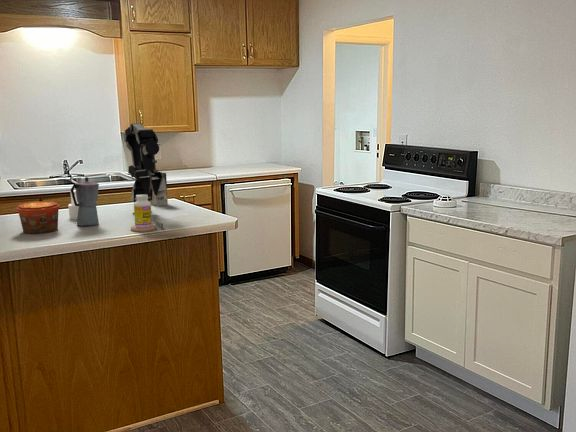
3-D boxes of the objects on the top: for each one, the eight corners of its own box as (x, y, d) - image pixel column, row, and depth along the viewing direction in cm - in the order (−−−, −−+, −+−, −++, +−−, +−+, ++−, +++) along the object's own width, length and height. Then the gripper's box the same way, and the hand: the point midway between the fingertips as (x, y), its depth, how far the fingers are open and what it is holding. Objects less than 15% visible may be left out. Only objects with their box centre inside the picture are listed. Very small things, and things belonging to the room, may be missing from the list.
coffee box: (168, 204, 284) (166, 172, 281) (157, 206, 280) (155, 174, 276) (159, 202, 290) (157, 171, 287) (147, 203, 286) (146, 172, 283)
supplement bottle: (142, 229, 224) (141, 197, 221) (131, 227, 227) (129, 195, 225) (155, 225, 229) (153, 194, 227) (144, 224, 233) (142, 193, 230)
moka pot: (108, 221, 243) (105, 175, 239) (85, 229, 229) (81, 180, 225) (90, 220, 246) (86, 175, 242) (65, 227, 232) (61, 179, 228)
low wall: (155, 225, 235) (155, 219, 235) (157, 225, 236) (157, 219, 235) (161, 229, 227) (161, 223, 226) (163, 229, 227) (163, 223, 226)
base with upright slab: (94, 217, 253) (92, 190, 251) (75, 220, 247) (73, 193, 245) (84, 214, 259) (82, 188, 257) (65, 217, 253) (63, 191, 251)
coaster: (125, 230, 225) (125, 228, 225) (140, 225, 235) (140, 223, 234) (147, 232, 222) (146, 230, 222) (161, 227, 231) (160, 225, 231)
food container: (18, 236, 217) (15, 209, 215) (19, 228, 231) (16, 202, 229) (62, 232, 223) (60, 206, 221) (61, 225, 238) (58, 199, 236)
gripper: (139, 162, 250) (142, 197, 250) (120, 158, 232) (124, 196, 232) (163, 159, 248) (166, 194, 248) (146, 155, 230) (150, 193, 230)
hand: (151, 194), depth 240 cm, fingers open, 9 cm apart
